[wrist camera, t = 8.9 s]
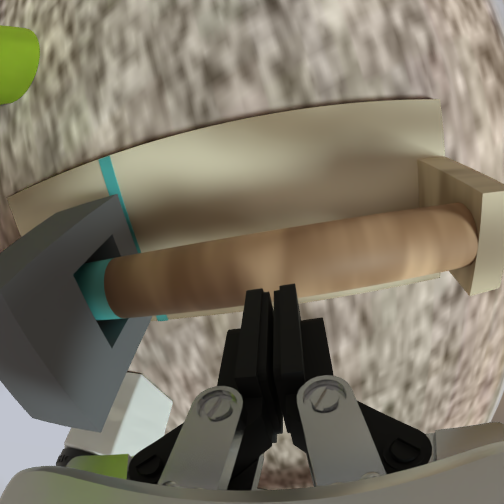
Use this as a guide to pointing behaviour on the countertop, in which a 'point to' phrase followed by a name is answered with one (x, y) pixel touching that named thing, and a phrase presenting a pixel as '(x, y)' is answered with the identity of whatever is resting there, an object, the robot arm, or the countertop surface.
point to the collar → (65, 318)
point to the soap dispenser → (17, 62)
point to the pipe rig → (284, 211)
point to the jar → (123, 423)
